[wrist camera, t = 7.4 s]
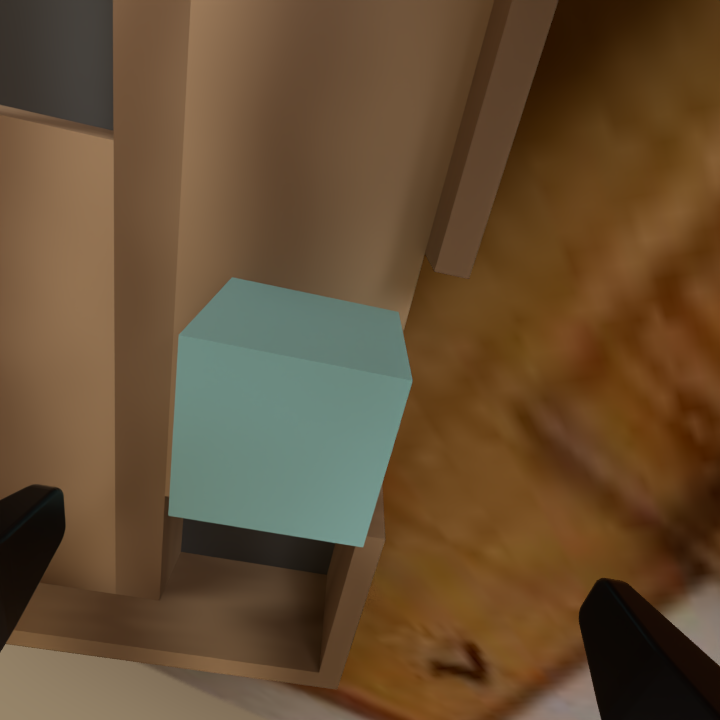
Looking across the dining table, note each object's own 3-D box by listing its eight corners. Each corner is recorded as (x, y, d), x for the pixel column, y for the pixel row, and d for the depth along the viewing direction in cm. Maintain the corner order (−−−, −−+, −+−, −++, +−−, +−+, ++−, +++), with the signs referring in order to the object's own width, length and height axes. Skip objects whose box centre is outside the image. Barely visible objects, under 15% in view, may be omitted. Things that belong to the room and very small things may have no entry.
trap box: (563, -189, 11) (681, -381, 7) (342, 586, 21) (337, 689, 17) (-198, -426, 9) (-611, -838, 5) (-29, 528, 20) (-127, 626, 16)
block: (398, 311, 13) (412, 380, 9) (363, 446, 15) (362, 547, 11) (232, 277, 12) (178, 335, 9) (217, 419, 14) (168, 515, 11)
